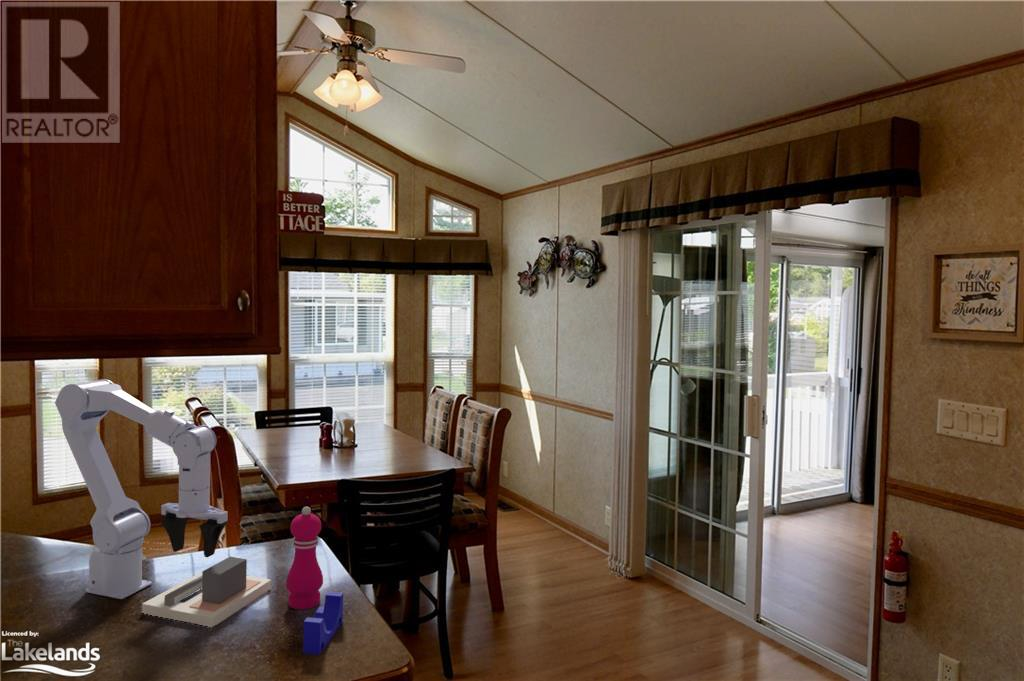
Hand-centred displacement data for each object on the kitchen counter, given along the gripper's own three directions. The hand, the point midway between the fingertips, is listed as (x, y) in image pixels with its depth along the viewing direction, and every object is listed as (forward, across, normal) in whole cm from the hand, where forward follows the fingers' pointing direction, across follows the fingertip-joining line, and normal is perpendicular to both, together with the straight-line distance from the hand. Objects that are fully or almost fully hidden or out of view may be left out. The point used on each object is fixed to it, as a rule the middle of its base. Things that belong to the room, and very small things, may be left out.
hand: (193, 552), depth 136 cm
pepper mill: (+10, +22, +6) cm, 25 cm away
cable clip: (+10, +32, -5) cm, 34 cm away
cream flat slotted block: (+9, +4, 0) cm, 10 cm away
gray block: (+7, +8, 0) cm, 11 cm away
